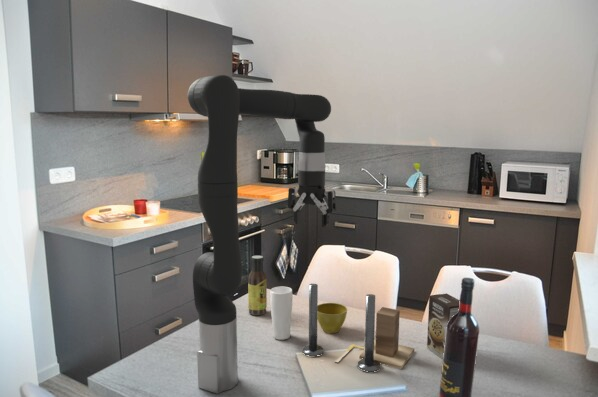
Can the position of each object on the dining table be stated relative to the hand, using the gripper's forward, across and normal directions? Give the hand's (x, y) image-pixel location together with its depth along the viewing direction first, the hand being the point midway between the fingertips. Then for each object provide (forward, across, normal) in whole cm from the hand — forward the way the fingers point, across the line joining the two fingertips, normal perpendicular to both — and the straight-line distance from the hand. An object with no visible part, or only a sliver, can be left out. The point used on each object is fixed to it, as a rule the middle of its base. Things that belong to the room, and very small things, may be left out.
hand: (311, 225), depth 136 cm
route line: (+36, +13, 0) cm, 38 cm away
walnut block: (+35, +22, +5) cm, 42 cm away
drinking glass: (+36, -10, 0) cm, 38 cm away
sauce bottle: (+36, -27, +12) cm, 47 cm away
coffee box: (+36, +36, +14) cm, 53 cm away
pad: (+36, +22, +5) cm, 42 cm away
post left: (+36, +3, -4) cm, 36 cm away
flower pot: (+36, +1, +12) cm, 38 cm away
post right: (+36, +20, -4) cm, 41 cm away
